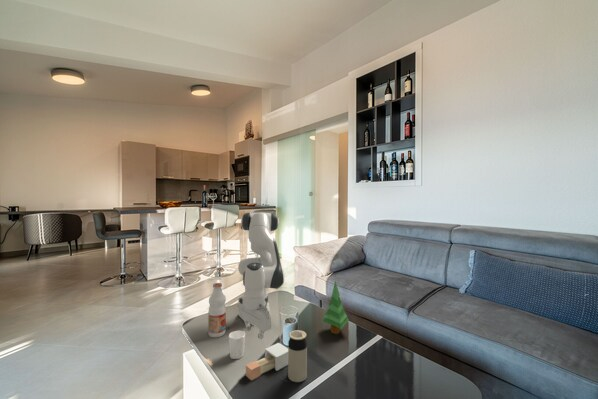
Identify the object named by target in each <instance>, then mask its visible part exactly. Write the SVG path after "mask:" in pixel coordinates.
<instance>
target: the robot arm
mask: <svg viewBox="0 0 598 399" xmlns="http://www.w3.org/2000/svg"><path fill="white" fill-rule="evenodd" d="M240 225H241V227H242V229H243V230H244V231H248V240H249V242H250V249H251V251H252V252H253V253H255V254H257V255H258V256H259V257H248V258H243V259H241V260H240V261H239V263H238V266H237V267H238V268H237V270H238V272H239V274H240V275H241V276H242V286H244V290H245V291H244V295H243V296H239V297H238V300H237V302H238V317H239V318H241V319H242V321H243V322H244V325H245V330H246V331H248V332H249V331H251V330H252V325H253V326H254V327H255V328H256V329H258V330H259V333H258V334H257V338H258V339H259V340H262V339H264V334H265V332H269V331H270V330H271V329H272V313H271V312H270V304H269V295H268V289H279V288H280V287H282V286H283V285H284V282H285V273H284V269H283V267H282V264H281V263H282V262H281V258H280V253H279V249H278V244H277V241H276V239H275V238H274V237H272V235H271V234H270V233H271V232H272V231H273V232H274V231H277V229H278V227H279V225H280V218H279V216H278V214H276V213H273V212H271V213H269V212H262V211H261V212H245V213H244V214H243V215H242V217H241V219H240Z"/></svg>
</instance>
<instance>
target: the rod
mask: <svg viewBox="0 0 598 399" xmlns="http://www.w3.org/2000/svg"><path fill="white" fill-rule="evenodd" d="M285 347H286V346H285ZM286 348H288V347H286ZM255 361H256V362H257V363H258V364H259V365H260V376H261V375H263V374H264V373H266V372H269V371H271V370H272V369H275V357H273V356H272V355H269V356H267V357H265V356H264V357H263V358H261V359H259V360H255Z"/></svg>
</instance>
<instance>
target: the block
mask: <svg viewBox="0 0 598 399" xmlns="http://www.w3.org/2000/svg"><path fill="white" fill-rule="evenodd" d="M256 361H257V360H253V361H251V362H249V363H247V364H245V376H246V377H247V379H248V380H250V381H254V380H255V379H258V378H259V377H261V375H260V365H259V364H258V363H257V362H256Z"/></svg>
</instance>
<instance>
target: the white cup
mask: <svg viewBox="0 0 598 399" xmlns="http://www.w3.org/2000/svg"><path fill="white" fill-rule="evenodd" d="M228 346H229V356H230V357H229V358H231V359H233V360H238V359H241V358H243V357H244V356H245V348H246V332H245V331H243V330H234V331H231V332H230V333H229V334H228Z"/></svg>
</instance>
